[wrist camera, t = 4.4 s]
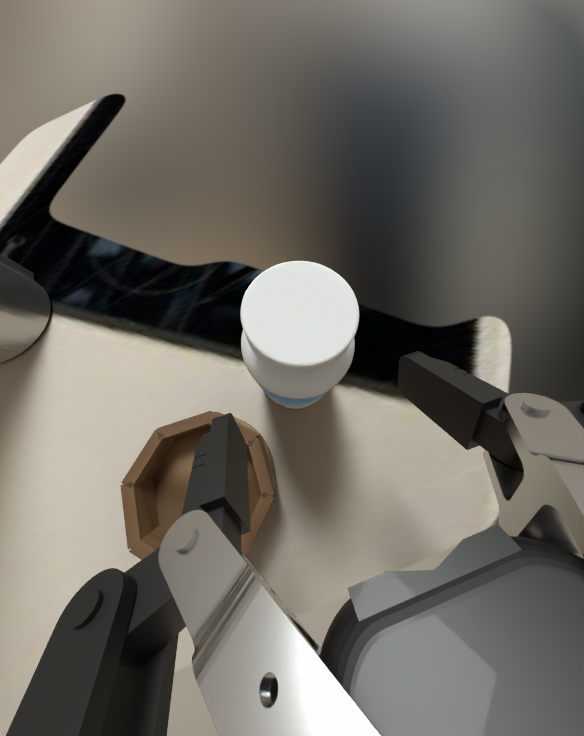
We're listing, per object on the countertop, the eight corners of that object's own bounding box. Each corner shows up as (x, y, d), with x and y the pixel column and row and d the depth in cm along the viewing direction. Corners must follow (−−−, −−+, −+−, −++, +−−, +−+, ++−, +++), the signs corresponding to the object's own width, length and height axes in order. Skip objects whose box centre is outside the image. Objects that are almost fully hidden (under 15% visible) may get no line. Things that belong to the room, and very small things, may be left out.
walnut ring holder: (140, 437, 17) (112, 440, 15) (255, 399, 18) (249, 395, 16) (160, 576, 15) (131, 609, 12) (291, 524, 16) (291, 545, 13)
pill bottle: (341, 389, 19) (412, 342, 8) (279, 421, 18) (261, 420, 7) (309, 333, 20) (331, 225, 9) (250, 360, 19) (197, 279, 8)
